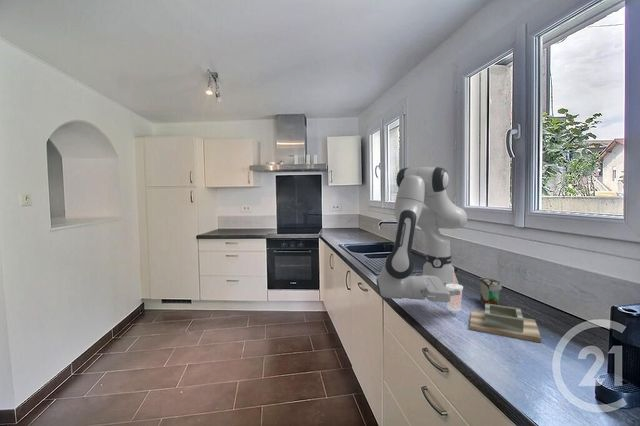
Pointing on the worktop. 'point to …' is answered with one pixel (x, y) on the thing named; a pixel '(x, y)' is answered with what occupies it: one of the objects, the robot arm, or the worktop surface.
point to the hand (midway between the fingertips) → (456, 288)
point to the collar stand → (504, 323)
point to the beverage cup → (454, 297)
